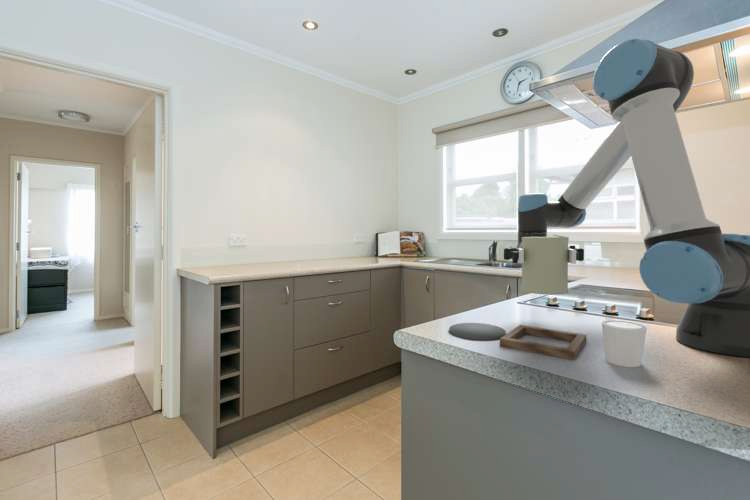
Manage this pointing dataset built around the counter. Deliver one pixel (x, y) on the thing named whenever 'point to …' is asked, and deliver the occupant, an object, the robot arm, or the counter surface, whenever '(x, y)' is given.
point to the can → (545, 265)
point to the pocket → (568, 353)
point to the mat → (477, 331)
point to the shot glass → (623, 342)
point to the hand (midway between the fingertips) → (547, 256)
